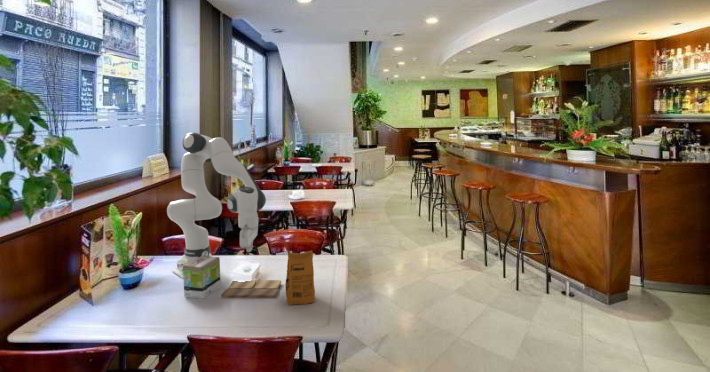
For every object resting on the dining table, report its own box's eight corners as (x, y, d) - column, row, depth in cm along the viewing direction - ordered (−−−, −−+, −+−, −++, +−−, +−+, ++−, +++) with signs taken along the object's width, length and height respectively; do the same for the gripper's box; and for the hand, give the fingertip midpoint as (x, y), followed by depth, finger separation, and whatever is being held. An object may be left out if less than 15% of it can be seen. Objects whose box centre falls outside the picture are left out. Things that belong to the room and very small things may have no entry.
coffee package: (285, 297, 186) (284, 249, 183) (313, 294, 189) (312, 247, 185) (286, 306, 177) (284, 256, 173) (315, 304, 179) (314, 254, 175)
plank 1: (228, 290, 194) (227, 288, 194) (233, 282, 202) (233, 280, 202) (251, 290, 194) (251, 288, 193) (256, 282, 201) (255, 280, 201)
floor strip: (221, 297, 186) (220, 295, 186) (226, 291, 193) (226, 288, 193) (274, 297, 185) (274, 295, 185) (278, 291, 192) (278, 289, 192)
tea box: (204, 299, 185) (202, 267, 183) (183, 297, 187) (181, 265, 185) (221, 286, 199) (219, 256, 197) (202, 284, 201) (200, 254, 199)
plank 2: (253, 290, 194) (253, 288, 193) (258, 282, 201) (258, 280, 201) (277, 290, 193) (277, 288, 193) (281, 282, 201) (280, 280, 201)
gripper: (249, 228, 185) (251, 258, 188) (259, 216, 205) (260, 244, 208) (235, 228, 185) (236, 258, 188) (246, 216, 205) (248, 244, 208)
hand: (249, 250), depth 198 cm, fingers closed
